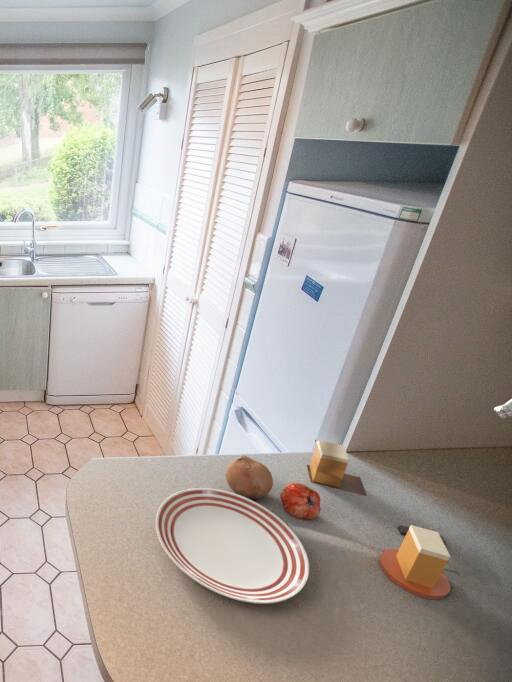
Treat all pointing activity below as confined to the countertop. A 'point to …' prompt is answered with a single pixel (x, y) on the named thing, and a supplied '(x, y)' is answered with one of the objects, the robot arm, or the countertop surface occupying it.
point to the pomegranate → (300, 501)
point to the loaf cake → (333, 468)
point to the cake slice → (422, 556)
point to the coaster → (395, 574)
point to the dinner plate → (232, 545)
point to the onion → (249, 478)
